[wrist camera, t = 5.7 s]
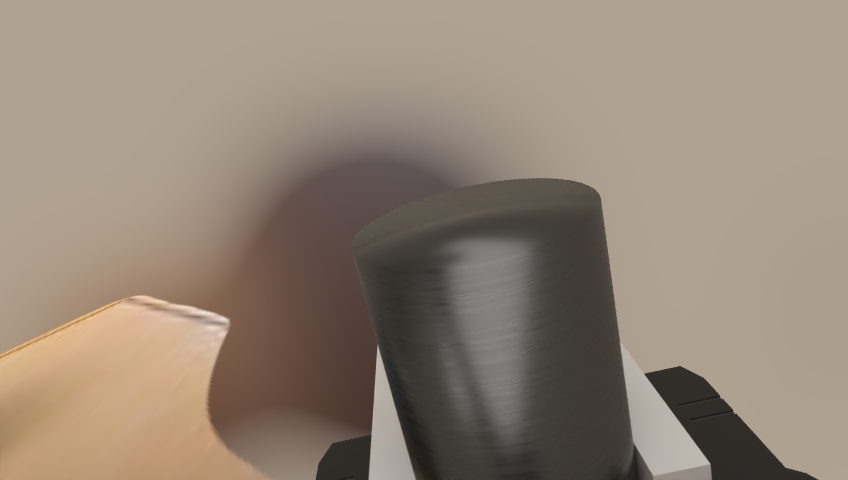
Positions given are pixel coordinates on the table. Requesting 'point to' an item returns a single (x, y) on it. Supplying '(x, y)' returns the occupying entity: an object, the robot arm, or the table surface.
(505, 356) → the metal plate with post
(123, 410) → the table surface
